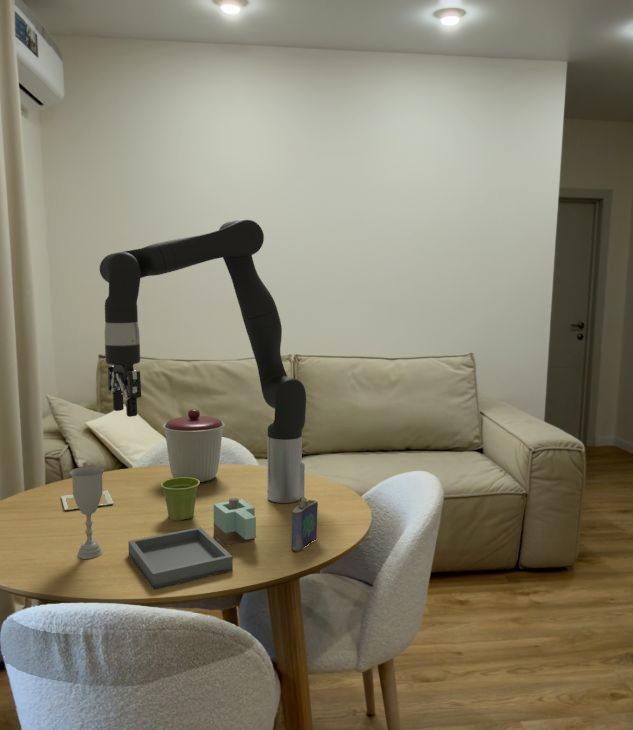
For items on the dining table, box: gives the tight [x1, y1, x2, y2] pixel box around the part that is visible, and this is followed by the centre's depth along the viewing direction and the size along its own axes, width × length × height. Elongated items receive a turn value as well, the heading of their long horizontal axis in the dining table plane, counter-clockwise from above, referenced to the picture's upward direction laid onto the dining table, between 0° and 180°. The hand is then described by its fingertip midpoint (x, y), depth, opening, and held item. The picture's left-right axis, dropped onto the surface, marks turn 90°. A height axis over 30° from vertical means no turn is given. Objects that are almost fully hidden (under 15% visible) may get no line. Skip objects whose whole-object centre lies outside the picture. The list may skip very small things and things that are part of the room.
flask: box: [290, 496, 319, 552], centre depth 138 cm, size 9×3×11 cm, turn 151°
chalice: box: [69, 465, 105, 560], centre depth 131 cm, size 7×7×18 cm
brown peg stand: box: [213, 497, 256, 547], centre depth 141 cm, size 7×7×9 cm
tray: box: [127, 526, 234, 590], centre depth 128 cm, size 16×18×3 cm
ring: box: [213, 498, 257, 540], centre depth 139 cm, size 7×12×4 cm, turn 31°
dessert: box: [60, 489, 115, 511], centre depth 165 cm, size 12×12×5 cm
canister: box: [162, 408, 226, 483], centre depth 185 cm, size 18×18×21 cm
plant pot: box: [160, 477, 201, 522], centre depth 154 cm, size 9×9×9 cm
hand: (125, 413), depth 142 cm, fingers open, 8 cm apart
